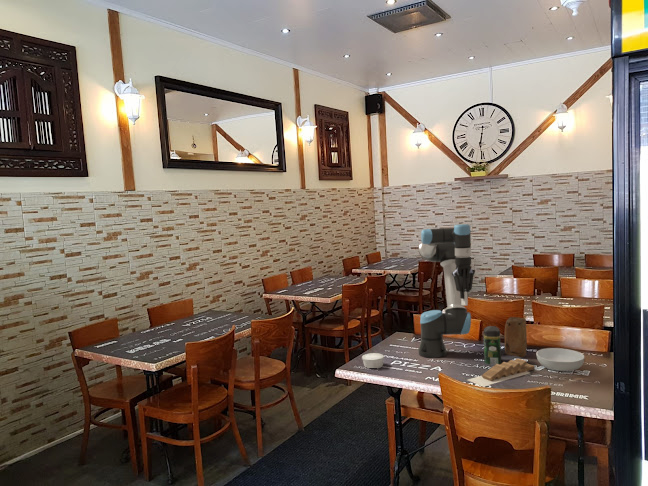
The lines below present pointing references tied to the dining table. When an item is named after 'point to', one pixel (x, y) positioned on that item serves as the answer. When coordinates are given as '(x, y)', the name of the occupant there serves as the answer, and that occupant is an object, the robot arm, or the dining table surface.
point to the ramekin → (373, 360)
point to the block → (515, 337)
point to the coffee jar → (492, 345)
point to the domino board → (484, 382)
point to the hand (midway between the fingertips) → (464, 305)
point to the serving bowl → (560, 359)
